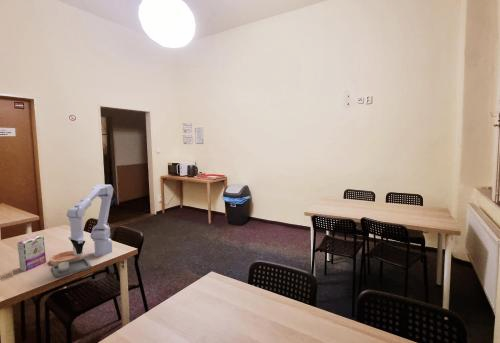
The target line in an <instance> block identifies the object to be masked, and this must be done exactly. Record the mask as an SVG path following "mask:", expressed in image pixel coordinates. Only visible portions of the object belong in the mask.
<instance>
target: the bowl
mask: <svg viewBox="0 0 500 343" xmlns="http://www.w3.org/2000/svg"><path fill="white" fill-rule="evenodd" d="M82 255H83V254H82ZM82 255H79V256H74V255H73V250H67V251H62V252H58V253H56V254H53V255H52V256H51V257H50V258H49V264H50V265H51V266H55V265H58V264H59V263H62V262H71V261H75V260H78V259H82Z"/></svg>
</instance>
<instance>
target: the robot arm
mask: <svg viewBox="0 0 500 343" xmlns="http://www.w3.org/2000/svg"><path fill="white" fill-rule="evenodd" d="M113 187H114V186H112V184H100V183H98V184H97V183H95V185H94V186H92V190H91V192H90V193H89V194H88V195H87V196H86V198H85V197H84V198H81V199H80V200H79V201H78V202H77V204H75V205H74V206H72V207H70V208H69V209H67V213H66V217H67V218H68V221H69V223H70V224H69V225H70V236H69V237H68V240H70V242H71V244H72V247H75V249H76V253H77V254H81V253H82V249H83V250H84V245H85V244H86V240H83V239H84V237H85V235H84V227H83V226H84V223H83V217H84V216H85V214H86V210H88V208H90V207H91V205H92V202H93V201H94V200H95V199H96V198H97V197H98V198H100V199H101V201H100V206H99V212H98V218H97V224H96V225H94V226H92V230H91V233H90V238H91V240H92V241H93V244H94V252H92V254H93V255H94V256H95V257H96V258H97V257H100V256H101V257H102V256H104V255H108V254H111V253H113V242H112V241H113V240H112V239H111V238H110V237H111V227H109V225H108V218H109V215H110V214H109V213H110V206H111V202H112V198H113V195H114V188H113Z"/></svg>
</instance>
